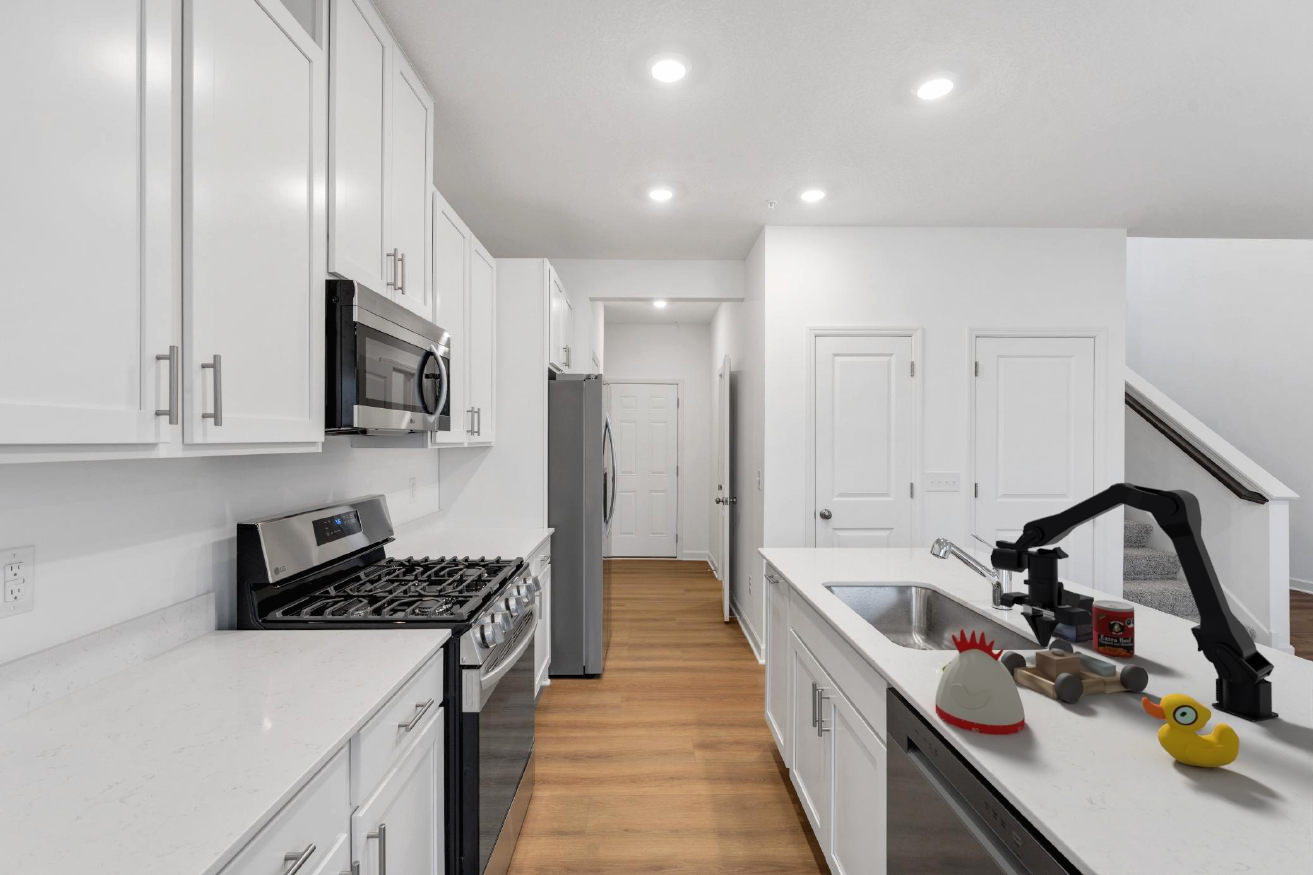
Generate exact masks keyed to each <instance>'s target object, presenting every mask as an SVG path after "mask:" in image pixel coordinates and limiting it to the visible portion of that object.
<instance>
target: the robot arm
mask: <svg viewBox="0 0 1313 875" xmlns="http://www.w3.org/2000/svg"><path fill="white" fill-rule="evenodd" d="M1123 505H1126V506H1129V507H1131V508H1134V509H1137V510H1141V511H1143V512H1144V511H1145V512H1148V513H1151V515H1152V517H1153V519H1154V521H1155V522H1156V523H1157V525H1158V527H1160V529H1161V530H1162V531H1163V532H1164V533H1165V534H1166V536H1168V538H1169V539H1170V540H1171V542H1172V544H1173V547H1174V550H1175V552H1176V556H1177V559H1178V561H1179V563H1180V566H1181V568H1182V571H1183V573H1184V577H1185V579H1186V582H1187V585H1188V587H1189V591H1190V593H1191V596H1192V597H1193V600H1194V603H1195V605H1196V608H1197V611H1198V613H1199V618H1200V619H1199V624H1198V625H1195V626H1194V627H1191V628H1190V630H1191V631H1190V632H1191V634H1192V635H1193V637H1194V639H1195V640H1196V644H1197V652H1202V654H1203V655H1204V658H1205V659H1206V660H1207V661H1208V662H1209V663H1211V664H1213V667H1214V669H1215V671H1216V674H1217V676H1218V677H1217V678H1216V679H1215V701H1216V702H1213V703H1212V705H1211V706H1212V707H1213V708H1216V709H1219V710H1221V711H1224V712H1227V713H1228V714H1229V713H1230V714H1232V715H1235V716H1238V717H1240V718H1243V719H1247V720H1250V721H1253V722H1257V721H1262V720H1268V719H1274V718H1278V717H1279V713H1278V712H1275V711H1273V694H1272V693H1273V691H1272V690H1273V689H1272V688H1273V687H1272V685H1273V684H1272V683H1273V682H1272V681H1269V680H1268V679H1266V678H1267V677H1269V676H1271V674H1272V672H1273V670H1274V668H1275V666H1274V664H1273V663H1271V661H1270V660H1268V659H1267V658H1266V657H1265V656H1264V655H1263V654H1262V653H1261V652H1259V651H1258V649H1257V645H1256V644H1255V642H1254V640H1253V638H1252V636H1251V635H1250V634H1249V632H1248V630H1247V628H1246V626H1244V624H1243V623H1242V622H1241V621H1240V620H1239V618H1237V617H1236V616H1235V614H1234V613H1233V612H1232V611H1231V608H1230V605H1229V603H1228V600H1227V598H1226V595H1225V593H1224V591H1223V588H1222V586H1221V583H1220V580H1219V578H1218V575H1217V572H1216V571H1215V570H1216V569H1215V568H1214V565H1213V562H1212V560H1211V557H1210V555H1209V552H1208V549H1207V547H1206V544H1205V542H1204V539H1203V537H1202V521H1203V520H1202V513H1201V507H1200V506H1201V505H1200V503H1199V499H1198V498H1197V497H1196V495H1195V494H1193V493H1191V492H1190V491H1187V490H1184V489H1171V490H1164V489H1158V488H1151V487H1149V486H1148V487H1147V486H1141V485H1135V484H1133V483H1130V482H1116V483H1113V484H1111V485H1110V486H1109V487H1107V488H1106V489H1104V490H1102V491H1099V492H1098V493H1096V494H1095V495H1093V496H1090V497H1087V498H1086V499H1085V500H1082V501H1080V502H1078V503H1076V504H1075V505H1073V506H1071V507H1069V508H1067V509H1064V510H1063V511H1061V512H1059V513H1055V514H1053V515H1052V514H1051V515H1047V516H1043V517H1040V518H1038V519H1034V520H1031V521H1028V522H1026V523H1025V524H1024V525H1023V529H1022V533H1021V535H1019V537H1018V539H1017V540H1016V541H1015V542H1013V541H1007V540H1003V539H1000V540H999V539H998V540H996V541H995V546H994V548H993V549H992V551H991V555H990V562H991V566H992V567H993V569H996V570H1002V571H1008V572H1015V573H1021V574H1022V573H1024V572H1025V571H1026V570H1027V579H1023V585H1025V586H1027V589H1028V590H1027V593H1024V592H1021V591H1012V592H1010V591H1009V592H1003V593H1002V595H1001V596H1000V606H1003V607H1006V608H1009V609H1011V608H1013V607H1014V606H1015V605H1019V606H1021V607H1022V611H1021V612H1020V616H1023V617H1024V619H1025V620H1026V622H1027V624H1028V626H1029V627H1030V629H1031V631H1032V633H1033V634H1034V636H1035V638H1036V640H1037V643H1038V644H1039V646H1040V647H1042V648H1048V647H1049V645H1050V641H1051V639H1052V637H1053V636H1054V635H1053V632H1054V630H1055V628H1056V627H1057V625H1058V624H1059V623H1061V624H1064V625H1068V626H1079V625H1088V624H1092V616H1091V614H1090V612H1089V611H1088V610H1084V609H1081V608H1078V604H1079V600H1080V597H1081V595H1079V594H1080V593H1078V594H1076V593H1077V592H1073V591H1070V590H1067V589H1065V585H1064V583H1063V582H1062V581H1059V564H1058V562H1059V560H1063V559H1068V558H1069V554H1067V553H1066V552H1065V551H1064V550H1063V549H1062V548H1061V547H1060V546H1054V547H1053V548H1052V549H1050V548H1043V547H1046V546H1052V545H1056V544H1058V543H1060V542H1061V541H1062V540H1063V539H1064V538H1065V539H1066V537H1067V536H1069V535H1070V533H1072V532H1073V531H1074V530H1075V529H1076V528H1078V527H1079V526H1081V525H1083V524H1085V523H1088V522H1089V521H1091V520H1094V519H1096V518H1098V517H1100V516H1102V515H1104V514H1106V513H1109V512H1110V511H1112V510H1115V509H1116V508H1117V509H1118V508H1119V507H1121V506H1123ZM1034 548H1038V549H1036V550H1035V551H1034V550H1029V549H1034ZM1066 605H1068V606H1072V607H1064V608H1059V607H1058V606H1066ZM1038 606H1039V607H1038ZM1049 609H1050V610H1049Z"/></svg>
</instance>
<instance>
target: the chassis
mask: <svg viewBox="0 0 1313 875" xmlns="http://www.w3.org/2000/svg"><path fill="white" fill-rule="evenodd" d="M1073 654H1075V655H1078V656H1080V678H1078V677H1076V676H1074V675H1071V674H1069V673H1062V674H1060V675H1059V676H1058V677H1057V679H1056V681H1055V683H1053V682H1050V681H1048V680H1045V679H1043V678H1041V677H1038V676H1036V664H1035V665H1034V664H1033V665H1027V661H1026V658H1025V657H1024V656H1023V655H1022V654H1020V653H1017V652H1015V651H1011V650H1008V651H1006V652H1004V654H1002V655H1001V657H1000V661H1001V662H1002V663H1003V665H1004V666H1005V667H1006V668H1007V670H1008V671H1009V673H1010V674H1011V676H1012V678H1013V680H1014V682H1015V683H1016V682H1017V683H1019V684H1021V685H1024V686H1026V687H1028V688H1030V689H1032V690H1034V691H1036V692H1039V693H1041V694H1043V695H1046V696H1048V697H1050V698H1053V699H1054V700H1064V701H1066V702H1068V703H1071V704H1072V703H1077V702H1078V701H1079V700H1080V699H1081V697H1082V696H1087V695H1088V696H1089V695H1095V694H1101V693H1105V694H1110V693H1111V694H1112V693H1117V692H1124V691H1131V692H1134V693H1142V692H1143V691H1145V689H1146V688H1147V686H1148V685H1149V684H1148V683H1149V674H1148V671H1147V670H1146V669H1145V668H1144V667H1142V666H1139V665H1136V664H1133V663H1128V664H1126V665H1124V666H1123V668H1122V669H1121V671H1118V670H1117V665H1116V664H1113V663H1111V662H1107V661H1104V660H1102V659H1099V658H1096V657H1093V656H1091V655H1087V654H1084V653H1082V652H1081V651H1079V650H1077V651H1074V653H1073Z"/></svg>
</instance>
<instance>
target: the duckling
mask: <svg viewBox="0 0 1313 875" xmlns="http://www.w3.org/2000/svg"><path fill="white" fill-rule="evenodd" d="M1141 705H1142V707H1143V709H1144V711H1145V712H1146V713H1147V715H1149V716H1151V717H1152V718H1154V719H1157V720H1161V721H1162V720H1163V721H1166V723H1165V724H1163V725H1162V726H1160V728H1159V729H1158V732H1157V739H1158V741H1159V744H1160V746H1161V747H1162V748H1163V749H1164V750H1165V751H1166V752H1167V753H1168V754H1169V756H1171V757H1172V758H1173V759H1174V760H1176V761H1177V762H1179V763H1181V764H1184V765H1186V766H1187V765H1188V766H1194V767H1202V768H1216V767H1222V766H1227V765H1230V764H1232V763H1233V762H1235V761H1236V759H1238V758H1237V757H1238V755H1239V751H1240V739H1239V736H1238V734H1237V733H1236V731H1235V730H1234V729H1233V728H1232V727H1231V726H1230V725H1228V724H1226V723H1222V722H1221V723H1217V724H1216V725H1215V726H1214V728H1213V730H1212V731H1211V732H1212V733H1211V734H1209V733H1208V734H1204V735H1199V734H1198V733H1197V732H1198V731H1200V730H1202V729H1204V727H1205V726H1206V725H1207V723H1208V722H1209V721H1210V719H1211V718H1212V711H1211V710H1210V708H1208V707H1207V706H1205V705H1204V704H1202V703H1200V702H1199V701H1197V700H1196V699H1194V698H1193V697H1191V696H1189V695H1186V694H1183V693H1171V694H1167V695H1165V696H1163V697H1162V698H1161V700H1160V703H1159V704H1156V703H1154V702H1152V701H1150V700H1149V699H1148V698H1147V697H1146V696H1144V697H1143V698H1142V699H1141Z"/></svg>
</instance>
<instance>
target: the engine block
mask: <svg viewBox="0 0 1313 875" xmlns="http://www.w3.org/2000/svg"><path fill="white" fill-rule="evenodd" d="M1035 665H1036V676H1038V677H1041V678H1043V679H1045V680H1048V681H1050V682H1053V683H1055V681H1056V679H1057V677H1058V676H1059V675H1060V674H1062V673H1069V674H1071V675H1074V676H1076V677H1078V678H1080V656H1078V655H1075V654H1072V653H1069V652H1066V651H1064V650H1061V649H1057V648H1053V649H1052V650H1049V649H1048V650H1041V651H1035Z"/></svg>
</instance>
